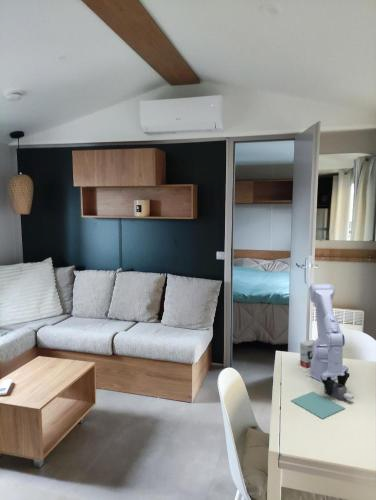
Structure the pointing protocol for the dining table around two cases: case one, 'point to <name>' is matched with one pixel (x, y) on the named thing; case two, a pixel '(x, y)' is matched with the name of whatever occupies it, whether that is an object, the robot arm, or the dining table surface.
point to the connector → (340, 392)
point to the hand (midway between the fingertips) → (335, 391)
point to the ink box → (306, 353)
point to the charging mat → (318, 405)
